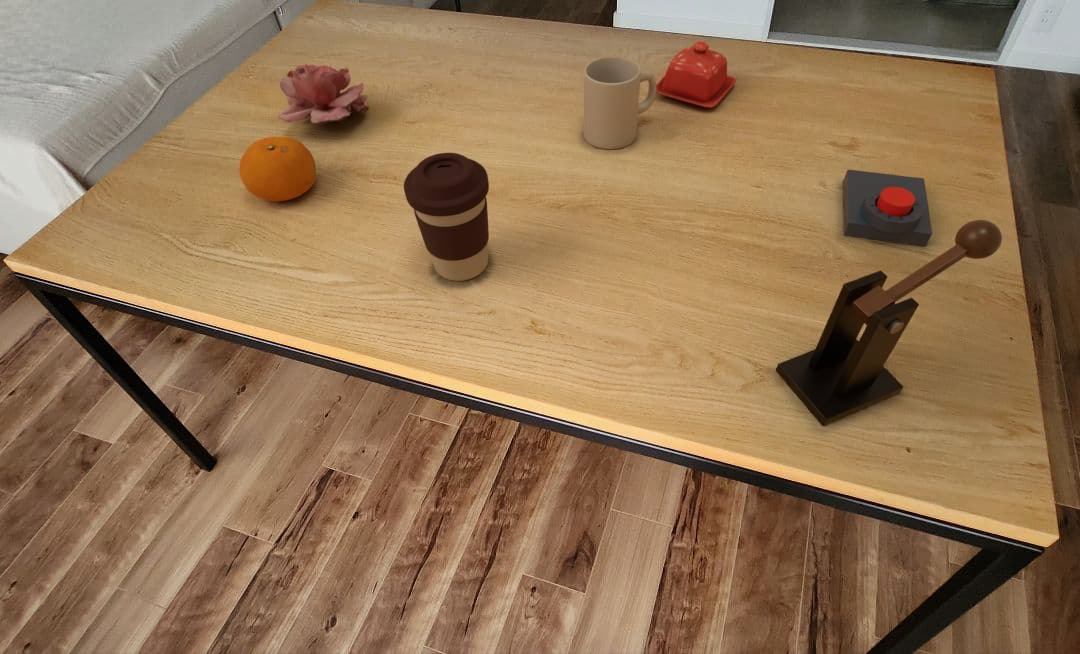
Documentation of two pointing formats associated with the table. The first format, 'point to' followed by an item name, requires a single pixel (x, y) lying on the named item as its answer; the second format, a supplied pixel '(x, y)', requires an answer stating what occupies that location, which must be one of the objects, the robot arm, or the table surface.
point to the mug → (614, 101)
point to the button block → (878, 225)
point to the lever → (934, 266)
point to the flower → (320, 94)
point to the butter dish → (697, 76)
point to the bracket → (850, 356)
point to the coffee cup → (451, 213)
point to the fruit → (277, 168)
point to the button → (895, 201)
